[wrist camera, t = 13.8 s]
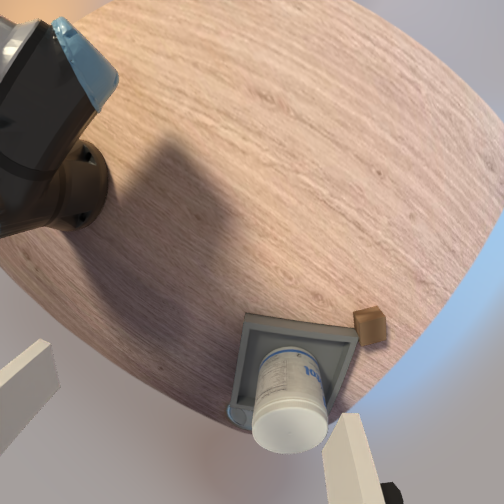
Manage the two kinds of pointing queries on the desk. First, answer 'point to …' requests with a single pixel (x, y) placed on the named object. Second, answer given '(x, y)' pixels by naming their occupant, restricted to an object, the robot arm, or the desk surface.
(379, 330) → the walnut block
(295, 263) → the desk surface
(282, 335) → the tray
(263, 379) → the supplement tub
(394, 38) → the desk surface
